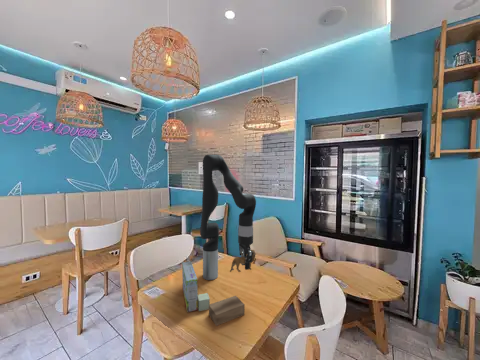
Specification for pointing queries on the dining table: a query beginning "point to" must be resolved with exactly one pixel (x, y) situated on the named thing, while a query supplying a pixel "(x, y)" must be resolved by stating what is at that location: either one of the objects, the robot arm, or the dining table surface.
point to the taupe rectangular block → (226, 310)
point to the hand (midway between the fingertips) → (245, 267)
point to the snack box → (190, 286)
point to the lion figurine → (241, 261)
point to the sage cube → (203, 302)
